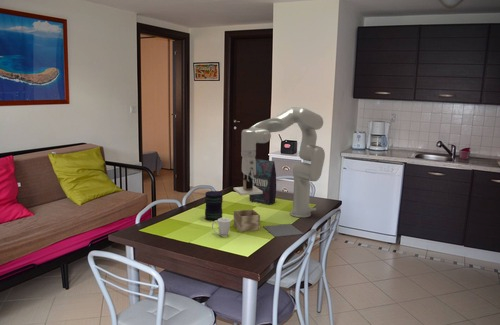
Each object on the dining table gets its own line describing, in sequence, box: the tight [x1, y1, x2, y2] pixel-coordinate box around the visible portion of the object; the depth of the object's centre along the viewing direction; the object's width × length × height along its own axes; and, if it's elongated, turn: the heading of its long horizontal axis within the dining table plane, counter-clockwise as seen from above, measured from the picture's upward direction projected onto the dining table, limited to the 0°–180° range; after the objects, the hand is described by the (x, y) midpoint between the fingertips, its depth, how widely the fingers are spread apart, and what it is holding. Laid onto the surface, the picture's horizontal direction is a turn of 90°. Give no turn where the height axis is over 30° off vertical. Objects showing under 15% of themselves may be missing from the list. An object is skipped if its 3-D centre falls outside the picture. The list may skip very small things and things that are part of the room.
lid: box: [233, 179, 263, 196], centre depth 223 cm, size 12×12×6 cm
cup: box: [211, 217, 232, 237], centre depth 214 cm, size 7×10×8 cm
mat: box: [262, 223, 304, 238], centre depth 223 cm, size 16×16×1 cm
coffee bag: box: [249, 158, 277, 206], centre depth 275 cm, size 8×16×28 cm, turn 57°
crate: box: [232, 209, 261, 233], centre depth 226 cm, size 11×11×8 cm
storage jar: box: [204, 190, 224, 222], centre depth 238 cm, size 10×10×15 cm
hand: (247, 187), depth 223 cm, fingers closed on lid, 4 cm apart
